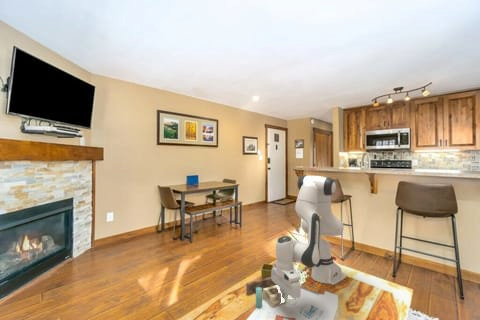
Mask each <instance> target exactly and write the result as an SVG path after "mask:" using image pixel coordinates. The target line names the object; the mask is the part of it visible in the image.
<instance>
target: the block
mask: <svg viewBox="0 0 480 320" xmlns="http://www.w3.org/2000/svg"><path fill="white" fill-rule="evenodd" d="M262 300H264V301H265V302H266V303H267V305H269V306H270V307H271V308H273V307H277V306H280V305H281V304H280V303H281V293H278V289H277V287H276V285H275V286H271V287H267V288H264V289H263V291H262ZM279 304H280V305H279Z"/></svg>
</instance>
